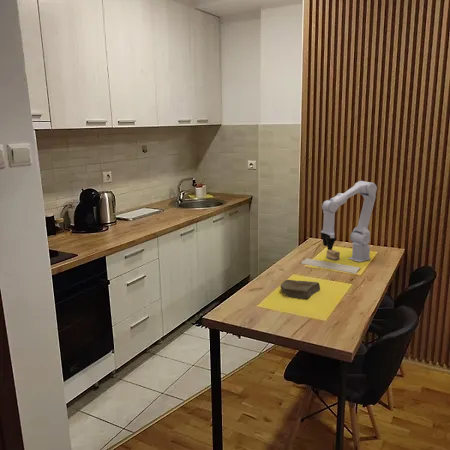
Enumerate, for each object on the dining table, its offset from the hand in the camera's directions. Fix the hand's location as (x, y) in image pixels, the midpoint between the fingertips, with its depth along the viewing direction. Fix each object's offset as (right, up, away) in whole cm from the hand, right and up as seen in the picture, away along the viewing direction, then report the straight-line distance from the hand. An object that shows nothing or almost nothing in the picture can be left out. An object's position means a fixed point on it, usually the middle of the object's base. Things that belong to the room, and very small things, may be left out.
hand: (327, 247), depth 228 cm
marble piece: (-22, -19, -35) cm, 46 cm away
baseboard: (+1, -11, -1) cm, 11 cm away
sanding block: (+6, -7, +13) cm, 16 cm away
